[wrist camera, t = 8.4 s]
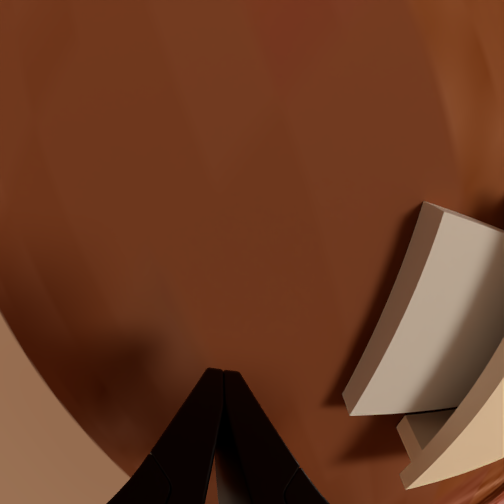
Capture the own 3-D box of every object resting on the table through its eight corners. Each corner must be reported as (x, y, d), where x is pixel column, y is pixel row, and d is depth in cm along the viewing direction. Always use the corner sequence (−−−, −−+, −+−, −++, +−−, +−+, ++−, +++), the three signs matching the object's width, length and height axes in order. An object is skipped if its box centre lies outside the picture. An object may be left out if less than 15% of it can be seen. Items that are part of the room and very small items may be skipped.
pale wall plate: (499, 379, 17) (512, 395, 15) (339, 387, 15) (349, 415, 13) (562, 255, 13) (582, 268, 11) (416, 197, 12) (444, 211, 10)
